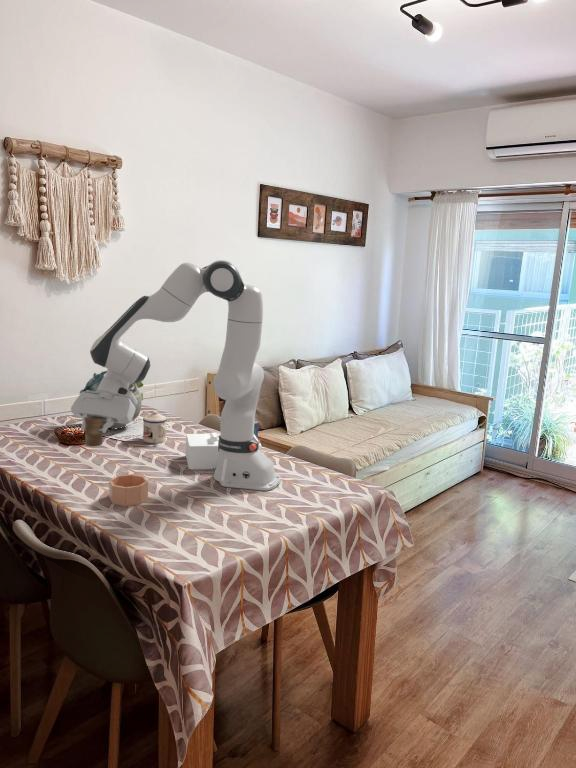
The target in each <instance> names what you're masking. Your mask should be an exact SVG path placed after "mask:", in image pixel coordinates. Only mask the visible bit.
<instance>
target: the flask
mask: <svg viewBox="0 0 576 768" xmlns="http://www.w3.org/2000/svg"><path fill="white" fill-rule="evenodd" d="M254 435H255V436H256V438H257V439H258V440H259V437H258V436H259V421H257V420H255V422H254Z"/></svg>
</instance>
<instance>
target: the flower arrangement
mask: <svg viewBox="0 0 576 768" xmlns="http://www.w3.org/2000/svg"><path fill="white" fill-rule="evenodd" d="M106 373H107V370H104V371H101V372H99V373H96V372H94V373H93V375H92V378H90V379H89V380H88V381H87V382H86V384H85V387H84V388H83V389H81V390H80V391H79V394H80V393H81V392H84V391H86V390H90V391H96V390H97V388H98V386H99V384H100V383H101V381H102V379H103V378H104V377H105V375H106ZM142 387H144V383H143V381H141V382H138V383H135V384H132V383H131V384H130V385H129V387H128V390H130V391H131V392H132V393H133V394H134V396H135V397H136V399H137V401H138V403H137V405H136V406H135V413H134V416H133V418H132V420H131V422H133V421H134V420H135V419H136V418H138V417H139V416H140V413H141V411H142V402H143V399H144V394H143V392H142V391H141V390H140V388H142ZM85 393H86V392H85ZM105 423H107V421H103V420H102V425H104V424H105ZM125 426H126V427H127V424H123V423H116V422H114V424H113V425H112V426H111V427H109V428H121V427H125ZM126 427H125V428H126Z"/></svg>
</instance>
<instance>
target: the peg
mask: <svg viewBox="0 0 576 768" xmlns="http://www.w3.org/2000/svg"><path fill="white" fill-rule="evenodd" d="M101 425H102V426H103V423H102V418H101V417H87V418H86V419H85V430H84V432H85V435H84V436H85V437H84V438H85V445H86V446H88V447H99V446H101V445H103V433H101V432H100V431H99V428H100V426H101Z"/></svg>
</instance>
